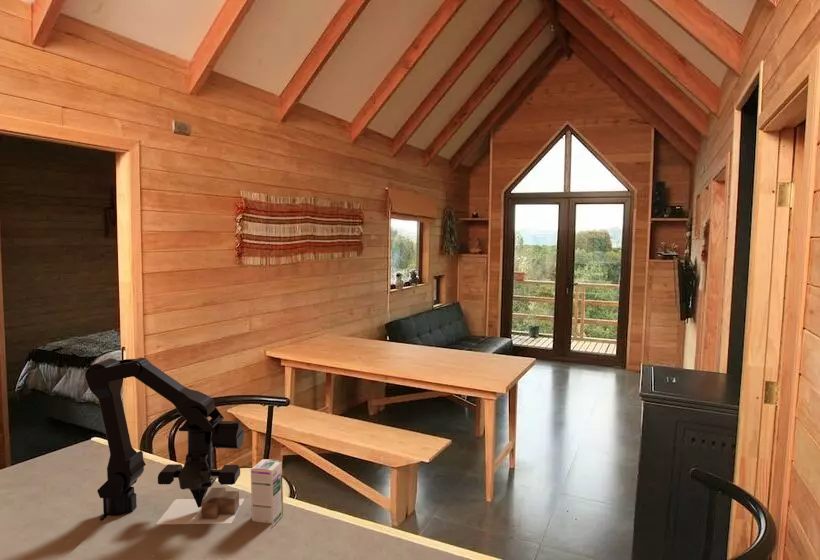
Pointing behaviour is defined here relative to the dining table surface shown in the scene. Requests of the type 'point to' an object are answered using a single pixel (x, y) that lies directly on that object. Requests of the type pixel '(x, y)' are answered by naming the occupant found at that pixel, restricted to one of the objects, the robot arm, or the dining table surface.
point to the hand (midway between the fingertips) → (200, 506)
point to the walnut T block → (219, 503)
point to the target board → (192, 514)
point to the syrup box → (267, 491)
